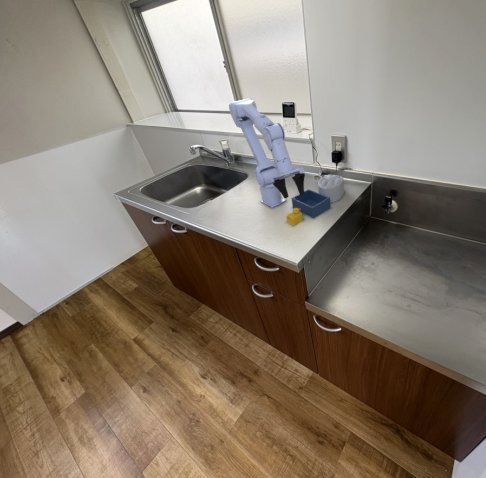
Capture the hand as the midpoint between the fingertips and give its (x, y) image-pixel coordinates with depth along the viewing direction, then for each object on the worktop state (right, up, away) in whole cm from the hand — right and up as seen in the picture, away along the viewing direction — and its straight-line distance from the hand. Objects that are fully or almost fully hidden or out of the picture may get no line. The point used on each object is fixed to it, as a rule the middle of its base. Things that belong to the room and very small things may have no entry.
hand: (294, 195), depth 94 cm
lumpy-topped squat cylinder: (+16, +3, +20) cm, 26 cm away
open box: (+7, -3, +14) cm, 16 cm away
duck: (0, -9, +7) cm, 12 cm away
